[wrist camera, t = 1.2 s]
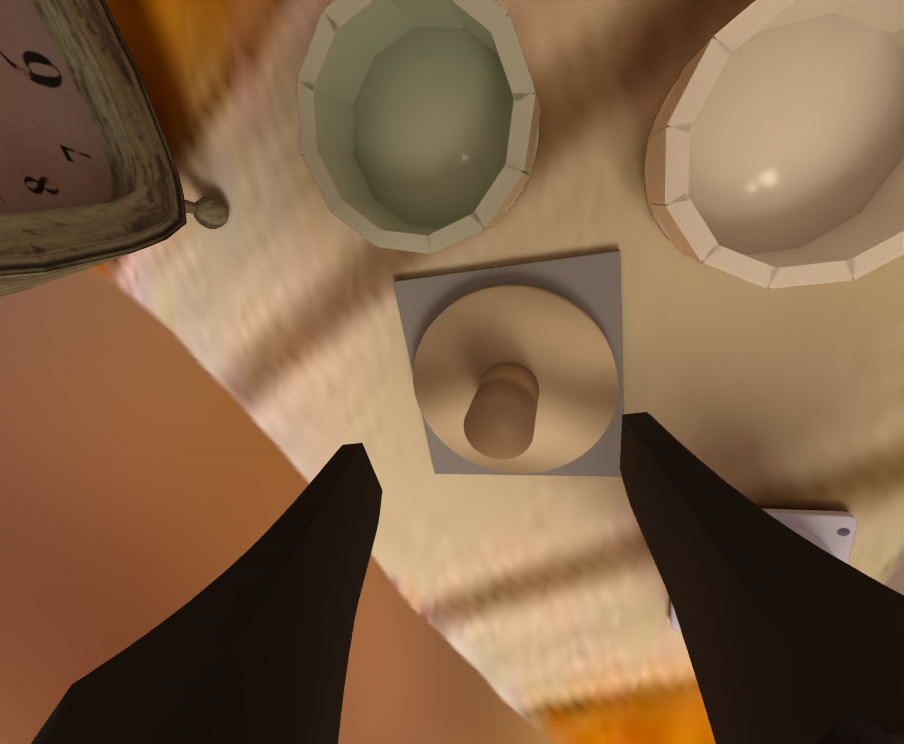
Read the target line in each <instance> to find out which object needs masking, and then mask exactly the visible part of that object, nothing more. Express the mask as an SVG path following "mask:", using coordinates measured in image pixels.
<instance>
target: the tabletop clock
mask: <svg viewBox="0 0 904 744" xmlns="http://www.w3.org/2000/svg"><path fill="white" fill-rule="evenodd" d="M186 212H187V213H193V214H194V217H195V219H196V220H197V221H198V222H199V223H200V224H201V225H203V226H204V227H206V228H209V229H217V228H219V227H221V226H223V225H224V224H226V222H227V220H228V212H227V209H226V207H225V206H224V204H223V203H222V202H220V201H219V200H217V199H216V198H213V197H208V196H206V197H202V198H200V199H199V200H198V201H196V202H195V203H193V202H190V201H187V200H184V194H183V190H182V186H181V182H180V178H179V174H178V171H177V168H176V166H175V163H174V160H173V157H172V154H171V152H170V149H169V147H168V144H167V141H166V139H165V136H164V134H163V131H162V128H161V126H160V123H159V121H158V118H157V115H156V113H155V110H154V108H153V105H152V103H151V100H150V97H149V95H148V92H147V90H146V87H145V84H144V82H143V79H142V77H141V74H140V72H139V70H138V68H137V66H136V64H135V61H134V59H133V57H132V55H131V53H130V51H129V49H128V47H127V45H126V43H125V41H124V39H123V37H122V35H121V33H120V31H119V29H118V27H117V25H116V23H115V20H114V18H113V16H112V14H111V12H110V10H109V8H108V6H107V4H106V2H105V0H0V297H1V296H5V295H9V294H13V293H17V292H21V291H24V290H27V289H30V288H33V287H35V286H38V285H41V284H44V283H47V282H50V281H53V280H55V279H59V278H61V277H64V276H67V275H70V274H73V273H76V272H78V271H81V270H84V269H87V268H90V267H93V266H96V265H99V264H102V263H104V262H107V261H110V260H113V259H116V258H119V257H122V256H124V255H127V254H130V253H133V252H136V251H138V250H141V249H144V248H147V247H149V246H152V245H154V244H157V243H159V242H161V241H164V240H166V239H168V238H169V237H170V236H171V235H173V234H174V233H175V232H176V231H178V230H179V229H180V228H181V227H183V226H184V225H185V224H186V223H187V221H186Z"/></svg>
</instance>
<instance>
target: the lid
mask: <svg viewBox="0 0 904 744" xmlns="http://www.w3.org/2000/svg"><path fill="white" fill-rule="evenodd" d="M413 383H414V390H415V395H416V399H417V402H418V405H419V408H420V410H421V412H422V415H423V417H424V418H425V420H426V422H427V423H428V425H429V426H430V428H431V429H432V430H433V432H434V433H435V434H436V436H437V437H438V438H439V439H440V440H441V441H442V442H443V443H444V444H445V445H447V446H448V447H449V448H450V449H451V450H452V451H454V452H455V453H457V454H458V455H460V456H461V457H463V458H465V459H467V460H468V461H470V462H472V463H474V464H477V465H479V466H482V467H484V468H488V469H491V470H495V471H500V472H506V473H516V474H527V473H538V472H544V471H548V470H552V469H555V468H558V467H561V466H563V465H566V464H568V463H570V462H572V461H573V460H575V459H577V458H579V457H580V456H581V455H583V454H584V453H585V452H587V451H588V450H589V449H590V448H591V447H592V446H593V445H594V444H595V443H596V442H597V441H598V440H599V439H600V437H601V436H602V435H603V434H604V432H605V431H606V429H607V427H608V425H609V424H610V422H611V419H612V417H613V414H614V411H615V408H616V403H617V399H618V374H617V369H616V365H615V361H614V357H613V354H612V350H611V348H610V346H609V343H608V341H607V339H606V337H605V335H604V334H603V332H602V331H601V329H600V327H599V326H598V325H597V324H596V322H595V321H594V320H593V319H592V318H591V316H589V315H588V314H587V313H586V312H585V311H584V310H583V309H582V308H581V307H579V306H578V305H576V304H575V303H574V302H572V301H571V300H569V299H568V298H566V297H564V296H562V295H560V294H558V293H556V292H553V291H550V290H547V289H544V288H541V287H536V286H531V285H525V284H499V285H494V286H489V287H485V288H482V289H479V290H476V291H473V292H471V293H469V294H467V295H465V296H463V297H461V298H459V299H458V300H457V301H455V302H454V303H452V304H451V305H450V306H449V307H447V308H446V309H445V310H444V311H443V312H442V313H441V314H440V315H439V316H438V317H437V318H436V319H435V320H434V321H433V323H432V324H431V325H430V326H429V327H428V329H427V331H426V332H425V334H424V336H423V337H422V339H421V342H420V344H419V346H418V349H417V353H416V356H415V360H414V369H413Z"/></svg>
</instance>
